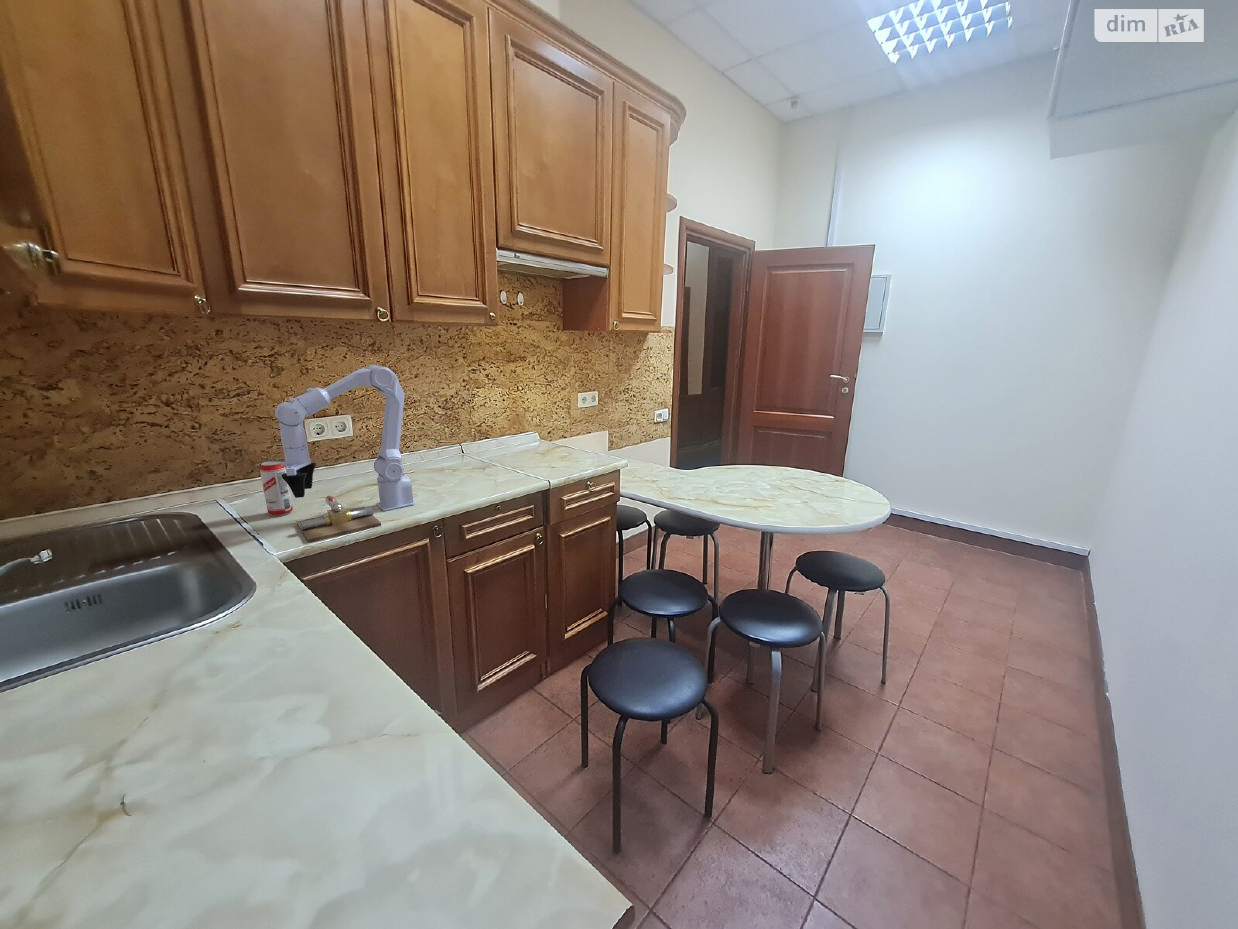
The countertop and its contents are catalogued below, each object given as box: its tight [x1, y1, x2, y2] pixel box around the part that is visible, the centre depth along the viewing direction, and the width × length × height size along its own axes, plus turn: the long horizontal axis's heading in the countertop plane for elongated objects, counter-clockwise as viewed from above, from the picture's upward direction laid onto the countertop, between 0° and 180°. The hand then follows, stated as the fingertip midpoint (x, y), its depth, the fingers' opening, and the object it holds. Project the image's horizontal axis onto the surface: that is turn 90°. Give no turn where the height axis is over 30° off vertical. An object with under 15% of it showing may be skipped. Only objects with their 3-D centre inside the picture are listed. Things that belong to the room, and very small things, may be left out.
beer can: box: [259, 460, 294, 517], centre depth 142 cm, size 6×6×16 cm
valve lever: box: [324, 495, 343, 511], centre depth 138 cm, size 11×3×2 cm, turn 42°
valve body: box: [300, 506, 374, 530], centre depth 136 cm, size 18×4×4 cm, turn 132°
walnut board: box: [296, 506, 382, 544], centre depth 136 cm, size 18×16×1 cm
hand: (303, 492), depth 135 cm, fingers open, 7 cm apart
